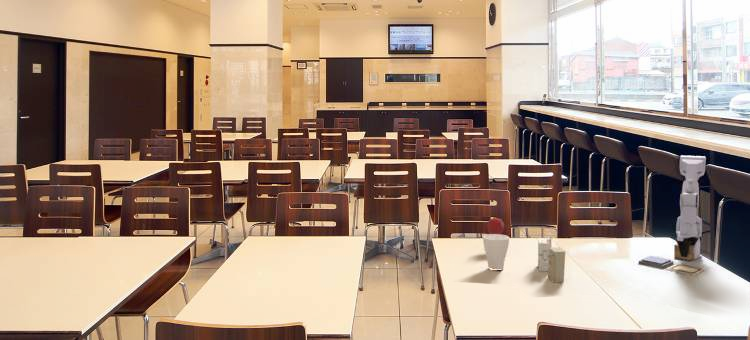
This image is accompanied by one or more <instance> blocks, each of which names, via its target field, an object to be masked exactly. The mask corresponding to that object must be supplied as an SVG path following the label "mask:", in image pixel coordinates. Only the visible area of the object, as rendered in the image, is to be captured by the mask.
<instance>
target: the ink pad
mask: <svg viewBox="0 0 750 340" xmlns="http://www.w3.org/2000/svg"><path fill="white" fill-rule="evenodd" d="M638 264H639V265H643V266H648V267H653V268H658V269H664V268H668V267H671V266H673V265H674V260H671V259H669V258H664V257H659V256H655V255H649V256H647V257H644V258H642V259H639V260H638Z"/></svg>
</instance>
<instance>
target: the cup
mask: <svg viewBox="0 0 750 340" xmlns="http://www.w3.org/2000/svg"><path fill="white" fill-rule="evenodd" d="M482 240H483V246H484V247H483V248H484V252H485V255H486V260H487V268H488V267H489V268H492V269H503V270H504V266H505V261H506V260H505V259H506V256H507V254H508V249H509V243H510V237H509V236H508V235H505V234H502V233H501V234H491V233H489V234H485V235H483V236H482Z"/></svg>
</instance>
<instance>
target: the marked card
mask: <svg viewBox="0 0 750 340" xmlns="http://www.w3.org/2000/svg"><path fill="white" fill-rule="evenodd" d="M665 271H671V272H676V273H679V274H680V273H681V274H685V275H691V276H696V275H698V274H700V273H702V272H704V271H706V268H701V267H697V266H691V265H686V264H681V263H676V264H672V265H670V266H668V267H666V269H665Z"/></svg>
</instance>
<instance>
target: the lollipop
mask: <svg viewBox="0 0 750 340" xmlns="http://www.w3.org/2000/svg"><path fill="white" fill-rule="evenodd" d="M486 227H487V231H488V232H489V234H501V235H502V233H503V232H504V231H505V223H504V221H503V220H502V219H501V218H498V217H493V218H490V219H489V220H488V222H487V224H486Z"/></svg>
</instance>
